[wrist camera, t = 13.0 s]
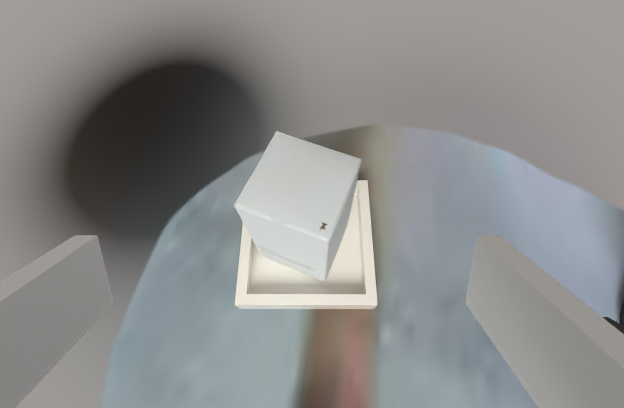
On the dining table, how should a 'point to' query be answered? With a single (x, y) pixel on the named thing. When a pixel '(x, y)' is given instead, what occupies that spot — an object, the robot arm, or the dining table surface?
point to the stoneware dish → (307, 290)
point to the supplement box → (299, 203)
